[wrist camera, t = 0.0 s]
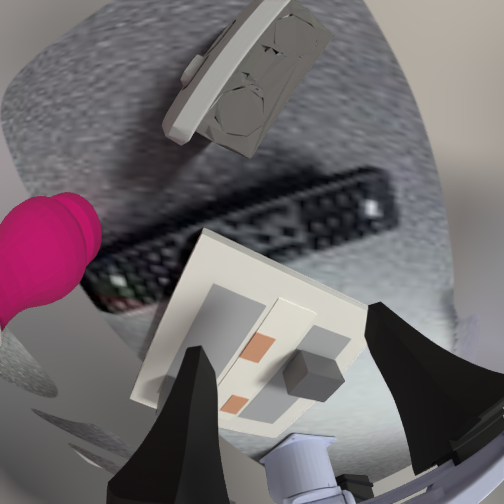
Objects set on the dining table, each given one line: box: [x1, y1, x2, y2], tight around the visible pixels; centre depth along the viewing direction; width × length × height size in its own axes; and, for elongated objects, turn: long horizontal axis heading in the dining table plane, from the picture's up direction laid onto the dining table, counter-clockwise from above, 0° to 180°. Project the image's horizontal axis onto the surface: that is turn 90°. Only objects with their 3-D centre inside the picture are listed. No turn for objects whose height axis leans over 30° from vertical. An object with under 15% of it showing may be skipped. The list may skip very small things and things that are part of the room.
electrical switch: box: [162, 0, 334, 159], centre depth 13 cm, size 9×5×9 cm, turn 148°
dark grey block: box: [282, 350, 345, 402], centre depth 22 cm, size 3×4×3 cm
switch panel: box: [130, 228, 368, 438], centre depth 24 cm, size 20×18×2 cm
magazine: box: [335, 474, 374, 504], centre depth 37 cm, size 4×13×15 cm, turn 48°
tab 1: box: [156, 376, 175, 416], centre depth 22 cm, size 3×4×3 cm
